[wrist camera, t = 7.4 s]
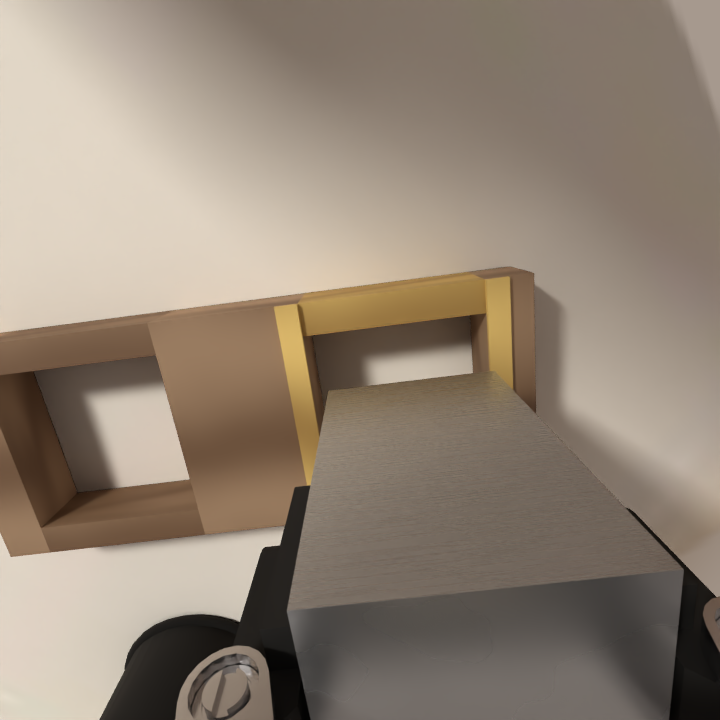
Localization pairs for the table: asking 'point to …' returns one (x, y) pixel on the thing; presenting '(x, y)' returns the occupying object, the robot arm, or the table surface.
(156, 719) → the aerosol can
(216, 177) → the table surface
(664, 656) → the grey rectangular block
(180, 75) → the table surface
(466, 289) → the wooden slotted tray
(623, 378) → the table surface
